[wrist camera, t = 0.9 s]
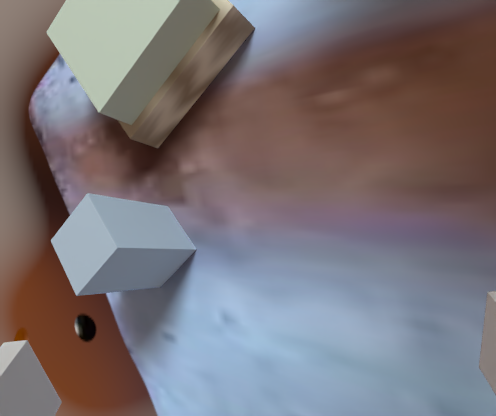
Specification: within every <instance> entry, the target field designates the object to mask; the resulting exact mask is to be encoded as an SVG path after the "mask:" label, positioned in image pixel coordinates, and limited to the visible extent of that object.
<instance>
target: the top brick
mask: <svg viewBox="0 0 496 416" xmlns="http://www.w3.org/2000/svg"><path fill="white" fill-rule="evenodd" d="M219 10H220V9H219V8H218V7H217V6H216V5H215V4H214V3H213V2H212V1H211V0H66V1H65V3H64V5H63V6H62V8H61V9H60V11H59V13H58V14H57V16H56V18H55V19H54V21H53V23H52V24H51V26H50V27H49V29H48V30H47V34H48V36H49V37H50V39H51V40H52V42H53V43H54V45H55V46H56V48H57V49H58V51H59V52H60V54H61V55H62V57H63V58H64V60H65V62H66V63H67V65H68V66H69V68H70V69H71V71H72V72H73V74H74V75H75V77H76V78H77V80H78V81H79V83H80V84H81V86H82V88H83V89H84V91H85V92H86V94H87V95H88V97H89V98H90V100H91V101H92V103H93V104H94V106H95V107H96V109H97V110H98V112H99V113H101V114H104V115H106V116H109V117H111V118H114V119H117V120H119V121H122V122H124V123H127V124H130V125H132V124H133V123H134V122H135V120H136V119H137V118H138V116H139V115H140V114H141V112H142V111H143V110H144V108H145V107H146V106H147V105H148V103H149V102H150V101H151V99H152V98H153V97H154V95H155V94H156V93H157V91H158V90H159V89H160V87H161V86H162V85H163V84H164V82H165V81H166V80H167V78H168V77H169V76H170V74H171V73H172V72H173V70H174V69H175V68H176V67H177V65H178V64H179V63H180V61H181V60H182V59H183V57H184V56H185V55H186V53H187V52H188V51H189V49H190V48H191V47H192V46H193V44H194V43H195V42H196V40H197V39H198V38H199V36H200V35H201V34H202V32H203V31H204V30H205V28H206V27H207V26H208V25H209V23H210V22H211V21H212V19H213V18H214V17H215V15H216V14H217V13H218V11H219Z"/></svg>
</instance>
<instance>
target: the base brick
mask: <svg viewBox="0 0 496 416" xmlns="http://www.w3.org/2000/svg"><path fill="white" fill-rule="evenodd" d="M211 1H212V2H213V3H214V4H215V5H216V6H217V7H218V8H219V9H220V10H219V11H218V13H217V14H216V15H215V17H214V18H213V19H212V21H211V22H210V23H209V25H208V26H207V27H206V28H205V30H204V31H203V32H202V34H201V35H200V36H199V38H198V39H197V40H196V42H195V43H194V44H193V46H192V47H191V48H190V49H189V51H188V52H187V53H186V55H185V56H184V57H183V59H182V60H181V61H180V63H179V64H178V65H177V67H176V68H175V69H174V70H173V72H172V73H171V74H170V76H169V77H168V78H167V80H166V81H165V82H164V84H163V85H162V86H161V87H160V89H159V90H158V91H157V93H156V94H155V95H154V97H153V98H152V99H151V101H150V102H149V103H148V105H147V106H146V107H145V108H144V110H143V111H142V112H141V114H140V115H139V116H138V118H137V119H136V120H135V122H134V123H133V124H132V125H130V124H127V123H124V122H122V121H119V120H118V122H119V123H120V124H121V126H122V127H123V129H124V130H125V132H126V133H127V135H128V136H129V138H130V139H132V140H135V141H138V142H141V143H144V144H146V145H149V146H152V147H155V148H159V146H160V145H161V144H162V143H163V141H164V140H165V139H166V138H167V137H168V135H169V134H170V133H171V132H172V130H173V129H174V128H175V127H176V125H177V124H178V123H179V122H180V120H181V119H182V118H183V117H184V115H185V114H186V113H187V112H188V111H189V109H190V108H191V107H192V106H193V104H194V103H195V102H196V101H197V99H198V98H199V97H200V96H201V94H202V93H203V92H204V91H205V90H206V88H207V87H208V86H209V85H210V83H211V82H212V81H213V80H214V78H215V77H216V76H217V75H218V73H219V72H220V71H221V70H222V68H223V67H224V66H225V65H226V64H227V62H228V61H229V60H230V59H231V57H232V56H233V55H234V54H235V52H236V51H237V50H238V49H239V47H240V46H241V45H242V44H243V42H244V41H245V40H246V39H247V38H248V36H249V35H250V34H251V33H252V31H253V30H254V29H255V28H254V27H253V26H252V24H251V23H250V22H249V21H248V20H247V19H246V18H245V17H244V16H243V15H242V14H241V13H240V12H239V11H238V10H237V9H236V8H235V7H234V6H233V5H232V4H231V3H230V2H229V1H228V0H211Z"/></svg>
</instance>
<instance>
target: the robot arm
mask: <svg viewBox="0 0 496 416" xmlns="http://www.w3.org/2000/svg"><path fill="white" fill-rule="evenodd" d="M479 368H480V370H481V371H482V373H483V375H484V376H485V378H486V380H487V381H488V383H489V384H490V386H491V388H492V389H493V391H494V393H495V394H496V291H493V292H488V293H487V302H486V310H485V319H484V327H483V336H482V344H481V353H480V361H479ZM60 404H61V400H60V398H59V396H58V395H57V393H56V391H55V389H54V388H53V386H52V384H51V382H50V380H49V379H48V377H47V375H46V373H45V371H44V370H43V368H42V367H41V364H40V362H39V361H38V359H37V357H36V355H35V354H34V352H33V350H32V348H31V347H30V344H29V343H28V341H27V340H25V341H15V342H6V343H3V345H2V346H1V347H0V416H55V414H56V412H57V410H58V408H59V406H60Z"/></svg>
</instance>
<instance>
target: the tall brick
mask: <svg viewBox="0 0 496 416" xmlns="http://www.w3.org/2000/svg"><path fill="white" fill-rule="evenodd" d="M51 242H52V244H53V246H54V249H55V251H56V253H57V255H58V257H59V259H60V262H61V263H62V266H63V267H64V270H65V272H66V274H67V276H68V279H69V280H70V283H71V285H72V287H73V289H74V291H75V294H76V295H77V296H79V295H89V294H99V293H109V292H119V291H129V290H139V289H149V288H159V287H161V286H162V285H163V284H164V283H165V282H166V281H167V280H168V279H169V278H170V277H171V276H172V275H173V274H174V273H175V272H176V271H177V270H178V268H179V267H180V266H181V265H182V264H183V263H184V262H185V261H186V260H187V259H188V258H189V257H190V256H191V255H192V254H193V253H194V252H195V251H196V250H197V249H196V248H195V246H194V245H193V243H192V242H191V240H190V239H189V237H188V236H187V234H186V233H185V231H184V230H183V228H182V227H181V225H180V224H179V222H178V221H177V219H176V218H175V216H174V215H173V213H172V212H171V210H170V209H169V207H168V206H163V205H156V204H150V203H144V202H138V201H132V200H126V199H120V198H114V197H107V196H101V195H95V194H89V193H87V194H86V196H85V197H84V198H83V200H82V201H81V202H80V203H79V205H78V206H77V207H76V209H75V210H74V211H73V213H72V214H71V215H70V216H69V218H68V219H67V220H66V222H65V223H64V224H63V226H62V227H61V228H60V229H59V231H58V232H57V233H56V235H55V236H54V237H53V239H52V240H51Z"/></svg>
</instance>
